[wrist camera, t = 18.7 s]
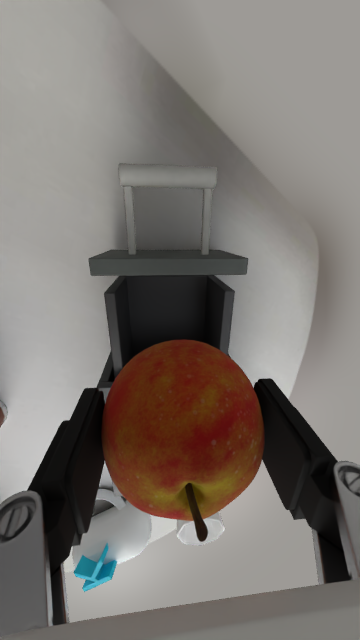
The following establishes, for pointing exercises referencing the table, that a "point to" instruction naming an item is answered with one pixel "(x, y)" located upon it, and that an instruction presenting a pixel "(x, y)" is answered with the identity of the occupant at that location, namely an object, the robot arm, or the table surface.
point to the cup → (188, 531)
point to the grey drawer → (167, 276)
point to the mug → (110, 540)
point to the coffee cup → (2, 413)
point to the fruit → (182, 431)
